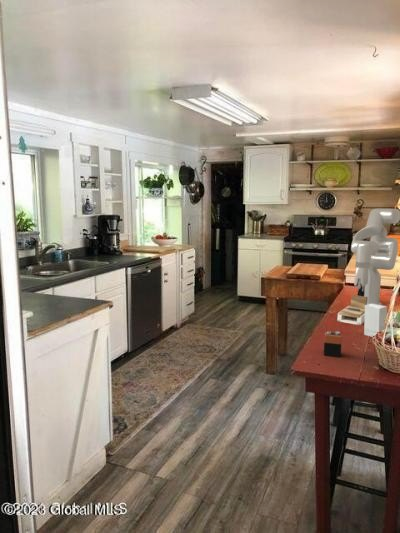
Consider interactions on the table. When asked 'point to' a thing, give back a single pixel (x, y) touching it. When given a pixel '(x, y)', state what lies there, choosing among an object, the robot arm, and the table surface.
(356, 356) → the table surface
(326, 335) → the battery
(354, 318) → the box
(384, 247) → the robot arm
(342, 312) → the lid
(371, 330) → the skincare box
